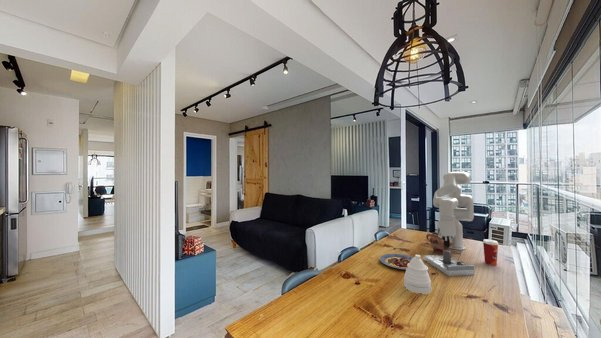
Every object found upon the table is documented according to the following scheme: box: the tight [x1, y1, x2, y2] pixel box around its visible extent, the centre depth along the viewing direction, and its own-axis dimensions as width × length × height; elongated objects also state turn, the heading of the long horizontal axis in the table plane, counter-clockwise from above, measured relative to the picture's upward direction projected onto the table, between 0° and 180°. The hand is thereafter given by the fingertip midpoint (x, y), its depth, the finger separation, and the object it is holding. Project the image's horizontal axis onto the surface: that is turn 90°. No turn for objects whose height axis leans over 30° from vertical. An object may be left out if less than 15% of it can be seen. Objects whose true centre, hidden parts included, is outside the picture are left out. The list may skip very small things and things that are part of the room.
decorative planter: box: [425, 231, 453, 255], centre depth 173 cm, size 20×12×14 cm, turn 31°
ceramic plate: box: [379, 253, 415, 270], centre depth 152 cm, size 26×26×3 cm
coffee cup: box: [482, 238, 499, 266], centre depth 151 cm, size 8×8×15 cm
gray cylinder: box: [442, 250, 452, 264], centre depth 146 cm, size 4×4×10 cm
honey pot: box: [403, 254, 432, 295], centre depth 121 cm, size 13×13×18 cm
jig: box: [423, 254, 475, 277], centre depth 146 cm, size 24×16×5 cm, turn 4°
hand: (446, 246), depth 146 cm, fingers closed
